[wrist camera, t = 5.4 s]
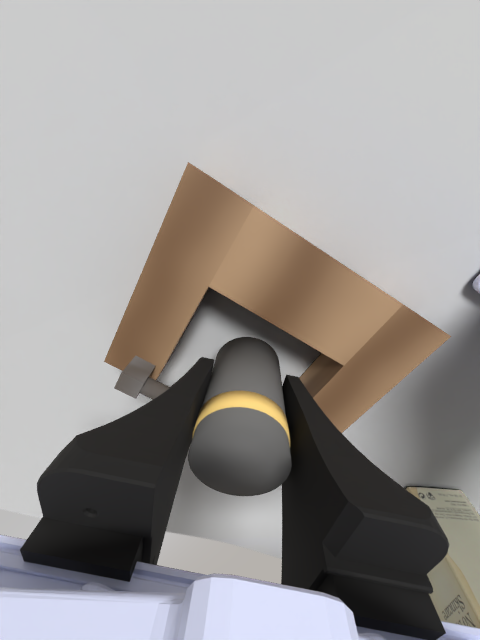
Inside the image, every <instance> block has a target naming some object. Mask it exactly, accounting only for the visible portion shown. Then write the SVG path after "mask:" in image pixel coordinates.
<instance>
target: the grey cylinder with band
mask: <svg viewBox="0 0 480 640" xmlns="http://www.w3.org/2000/svg"><path fill="white" fill-rule="evenodd" d="M188 461H189V465H190V468H191V470H192V471H193V473H194V474H195V476H196V477H197V478H198V479H199V480H200V481H201V482H203V483H204V484H205V485H207V486H209V487H210V488H212V489H214V490H216V491H219V492H222V493H225V494H230V495H236V496H254V495H260V494H264V493H267V492H270V491H272V490H274V489H276V488H277V487H279V486H280V485H281V484H283V483H284V481H285V480H286V479H287V478H288V476H289V474H290V471H291V467H292V462H291V454H290V435H289V428H288V421H287V418H286V414H285V406H284V398H283V390H282V382H281V374H280V366H279V360H278V356H277V354H276V352H275V351H274V349H273V348H272V347H271V346H270V345H268V344H267V343H266V342H264V341H262V340H260V339H256V338H252V337H241V338H236V339H233V340H231V341H229V342H227V343H226V344H225V345H224V346H223V347H222V348H221V349H220V350H219V352H218V354H217V357H216V361H215V364H214V368H213V371H212V374H211V378H210V381H209V385H208V388H207V391H206V395H205V398H204V402H203V405H202V408H201V410H200V412H199V414H198V418H197V421H196V424H195V428H194V431H193V436H192V442H191V446H190V449H189V454H188Z"/></svg>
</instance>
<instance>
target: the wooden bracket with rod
mask: <svg viewBox="0 0 480 640" xmlns="http://www.w3.org/2000/svg"><path fill="white" fill-rule="evenodd" d="M209 287H210V288H212V289H214V290H215V291H217V292H219V293H220V294H222V295H224V296H226V297H227V298H229V299H231V300H232V301H234V302H236V303H237V304H239V305H241V306H243V307H244V308H246V309H248V310H249V311H251V312H253V313H255V314H256V315H258V316H260V317H261V318H263V319H265V320H267V321H268V322H270V323H272V324H273V325H275V326H277V327H278V328H280V329H282V330H284V331H285V332H287V333H289V334H290V335H292V336H294V337H296V338H297V339H299V340H301V341H302V342H304V343H306V344H308V345H309V346H311V347H313V348H314V349H316V350H318V351H319V352H321V354H320V355H319V357H318V358H317V359H316V360H315V361H314V362H313V363H312V364H311V366H310V367H309V368H308V369H307V370H306V371H305V372H304V373H303V375H302V376H301V377H300V378H299V379H300V380H301V382H302V383H303V384H304V386H305V387H306V389H307V390H308V392H309V393H310V395H311V396H312V397H313V399H314V400H315V402H316V403H317V404H318V406H319V407H320V408H321V410H322V411H323V412H324V414H325V415H326V416H327V417H328V418H329V420H330V421H331V422H332V423H333V424H334V426H335V427H336V428H337V429H338V430H339V431H340V432H341V433H342V432H343V431H345V430H346V429H347V428H348V427H349V426H350V425H351V424H352V423H354V422H355V421H356V420H357V419H358V418H359V417H360V416H362V415H363V414H364V413H365V412H366V411H367V410H368V409H369V408H371V407H372V406H373V405H374V404H375V403H376V402H377V401H379V400H380V399H381V398H382V397H383V396H384V395H385V394H386V393H388V392H389V391H390V390H391V389H392V388H393V387H394V386H396V385H397V384H398V383H399V382H400V381H401V380H402V379H403V378H405V377H406V376H407V375H408V374H409V373H410V372H411V371H413V370H414V369H415V368H416V367H417V366H418V365H419V364H420V363H422V362H423V361H424V360H425V359H426V358H427V357H428V356H430V355H431V354H432V353H433V352H434V351H435V350H436V349H437V348H439V347H440V346H441V345H442V344H443V343H444V342H445V341H446V340H448V339H449V338H450V337H451V336H450V335H448V334H447V333H445V332H444V331H442V330H441V329H439V328H438V327H436V326H435V325H433V324H432V323H430V322H429V321H427V320H426V319H424V318H423V317H421V316H420V315H418V314H417V313H415V312H414V311H412V310H411V309H409V308H408V307H406V306H405V305H403V304H402V303H400V302H399V301H397V300H396V299H394V298H393V297H391V296H390V295H388V294H387V293H385V292H384V291H382V290H381V289H379V288H378V287H376V286H375V285H373V284H372V283H370V282H369V281H367V280H365V279H364V278H362V277H361V276H359V275H358V274H356V273H355V272H353V271H352V270H350V269H349V268H347V267H346V266H344V265H343V264H341V263H340V262H338V261H337V260H335V259H334V258H332V257H331V256H329V255H328V254H326V253H325V252H323V251H322V250H320V249H319V248H317V247H316V246H314V245H313V244H311V243H310V242H308V241H307V240H305V239H304V238H302V237H301V236H299V235H298V234H296V233H295V232H293V231H292V230H290V229H289V228H287V227H286V226H284V225H283V224H281V223H280V222H278V221H276V220H275V219H273V218H272V217H270V216H269V215H267V214H266V213H264V212H263V211H261V210H260V209H258V208H257V207H255V206H254V205H252V204H251V203H249V202H248V201H246V200H245V199H243V198H242V197H240V196H239V195H237V194H236V193H234V192H233V191H231V190H230V189H228V188H227V187H225V186H224V185H222V184H221V183H219V182H218V181H216V180H215V179H213V178H212V177H210V176H209V175H207V174H206V173H204V172H203V171H201V170H199V169H198V168H196V167H195V166H193V165H192V164H190V163H189V162H188V164H187V166H186V169H185V171H184V173H183V176H182V178H181V181H180V183H179V185H178V188H177V190H176V192H175V195H174V197H173V200H172V202H171V204H170V207H169V209H168V211H167V214H166V216H165V218H164V221H163V223H162V226H161V228H160V230H159V233H158V235H157V237H156V240H155V242H154V245H153V247H152V249H151V252H150V254H149V256H148V259H147V261H146V264H145V266H144V268H143V271H142V273H141V275H140V278H139V280H138V282H137V285H136V287H135V290H134V292H133V294H132V297H131V299H130V301H129V304H128V306H127V309H126V311H125V313H124V316H123V318H122V320H121V323H120V325H119V327H118V330H117V332H116V335H115V337H114V339H113V342H112V344H111V346H110V349H109V351H108V354H107V356H106V358H105V361H104V362H106V363H108V364H110V365H112V366H114V367H116V368H118V369H120V370H122V373H121V375H120V377H119V379H118V381H117V383H116V385H115V387H114V388H115V389H117V390H119V391H121V392H123V393H125V394H127V395H129V396H132V397H134V398H136V397H137V396H138V394H139V393H141V394H143V395H145V396H147V397H149V398H151V399H155V398H156V397H158V396H159V395H161V394H162V393H163V392H165V391H166V390H167V389H169V388H170V387H168V386H166V385H164V384H162V383H160V382H158V381H156V380H157V378H158V376H159V375H160V373H161V372H162V370H163V368H164V367H165V365H166V363H167V362H168V360H169V358H170V356H171V355H172V353H173V351H174V349H175V348H176V346H177V344H178V342H179V340H180V339H181V337H182V335H183V333H184V332H185V330H186V328H187V326H188V324H189V323H190V321H191V319H192V317H193V316H194V314H195V312H196V310H197V308H198V307H199V305H200V303H201V301H202V300H203V298H204V296H205V294H206V292H207V291H208V289H209Z"/></svg>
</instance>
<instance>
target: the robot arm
mask: <svg viewBox="0 0 480 640" xmlns="http://www.w3.org/2000/svg"><path fill="white" fill-rule="evenodd" d="M473 288H474V289H475V290H476V291H477V292H479V293H480V274H479V275H478V276H477V277H476V278H475V280H474V282H473ZM213 363H214V360H213V359H208V358H204V357H202V358H200V359H199V360H198V361H197V362H196V364H195V365H194V366H193V367H192V368H191V369H190V370H189V371H188V372H187V373H186V374H185V375H184V376H183V377H182V378H180V379H179V380H178V381H177V382H176V383H175V384H173V385H172V386H171V387H170V388H169V389H167V390H166V391H165V392H163V393H162V394H161V395H159V396H158V397H156V398H155V399H153V400H152V401H150V402H149V403H147V404H145V405H144V406H142V407H140V408H139V409H137V410H135V411H133V412H131V413H129V414H127V415H125V416H123V417H121V418H119V419H117V420H115V421H113V422H111V423H108V424H106V425H104V426H101V427H98V428H96V429H93V430H90V431H88V432H85V433H82V434H79V435H77V436H76V437H75V438H74V439H73V440H72V441H71V442H70V443H69V444H68V445H67V446H66V447H65V448H64V449H63V450H62V451H61V452H60V453H59V454H58V456H57V457H56V458H55V459H54V461H53V462H52V463H51V464H50V465H49V467H48V468H47V469H46V470H45V472H44V473H43V474H42V475H41V476H40V478H39V480H38V482H37V492H38V497H39V501H40V505H41V509H42V513H43V518H42V519H41V520H40V522H39V523H38V525H37V526H36V528H35V529H34V530H33V532H32V533H31V535H30V536H29V538H28V539H27V540H25V539H21V538H15V537H10V536H5V535H0V640H480V628H475V627H470V626H465V625H459V624H454V623H449V622H444V621H441V620H440V618H439V616H438V613H437V611H436V609H435V607H434V604H433V602H432V600H431V597H430V595H429V594H431V593H433V587H432V585H431V582H430V580H429V578H428V576H427V574H428V573H429V572H430V571H431V570H432V569H433V568H434V567H435V566H436V565H437V564H439V563H440V562H441V561H442V560H443V559H444V557H445V556H446V555H447V552H448V549H449V542H448V538H447V537H446V535H445V533H444V531H443V530H442V528H441V526H440V524H439V523H438V521H437V519H436V517H435V516H434V514H433V512H432V510H431V509H430V507H429V506H428V505H427V504H425V503H424V502H422V501H421V500H420V499H418V498H417V497H415V496H414V495H413V494H411V493H410V492H408V491H407V490H406V489H404V488H403V487H401V486H400V485H399V484H397V483H396V482H395V481H394V480H392V479H391V478H390V477H389V476H387V475H386V474H385V473H384V472H382V471H381V470H380V469H379V468H378V467H376V466H375V465H374V464H373V463H372V462H370V461H369V460H368V459H367V458H366V457H365V456H364V455H363V454H362V453H361V452H360V451H358V450H357V449H356V448H355V447H354V446H353V445H352V444H351V443H350V442H349V441H348V440H347V439H346V438H345V437H344V435H343V434H342V433H341V432H340V431H339V430H338V429H337V428H336V427H335V426H334V424H333V423H332V422H331V421H330V420H329V418H328V417H327V416H326V415H325V414H324V412H323V411H322V410H321V408H320V407H319V406H318V404H317V403H316V402H315V400H314V399H313V397H312V396H311V395H310V393H309V392H308V390H307V389H306V387H305V386H304V384H303V383H302V382H301V380H300V379H299V377H295V376H290V375H286V377H285V380H284V383H283V386H282V390H283V398H284V406H285V414H286V418H287V421H288V428H289V435H290V454H291V462H292V467H291V471H290V474H289V476H288V478H287V479H286V480H285V481H284V483H283V484H282V583H281V584H277V583H272V582H267V581H261V580H257V579H251V578H247V577H241V576H236V575H228V574H210V575H204V574H199V573H194V572H189V571H184V570H179V569H174V568H169V567H163V566H158V565H157V561H158V558H159V553H160V550H161V546H162V542H163V539H164V534H165V531H166V527H167V524H168V520H169V516H170V513H171V509H172V505H173V502H174V498H175V494H176V491H177V487H178V483H179V480H180V476H181V473H182V469H183V465H184V462H185V459H186V456H187V453H188V450H189V447H190V445H191V442H192V436H193V431H194V428H195V424H196V421H197V418H198V414H199V412H200V410H201V408H202V405H203V402H204V398H205V395H206V391H207V388H208V385H209V381H210V378H211V374H212V369H213Z"/></svg>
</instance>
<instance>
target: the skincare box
mask: <svg viewBox="0 0 480 640" xmlns="http://www.w3.org/2000/svg"><path fill="white" fill-rule="evenodd" d="M406 490H407V491H408V492H410V493H411V494H413V495H414V496H415V497H417V498H418V499H420V500H421V501H422V502H424V503H425V504H427V505H428V506H429V507H430V509H431V510H432V512H433V514H434V516H435V517H436V519H437V521H438V523H439V524H440V526H441V528H442V530H443V531H444V533H445V535H446V537H447V538H448V542H449V549H448V552H447V555H446V556H445V557H444V559H443V560H442V561H441V562H440V563H439V564H437V565H436V566H435V567H434V568H433V569H432V570H431V571H430V572H429V573H428V574H427V576H428V578H429V580H430V582H431V585H432V587H433V593H431V594H429V595H430V597H431V600H432V602H433V604H434V607H435V609H436V611H437V613H438V616H439V618H440V620H441V621H444V622H449V623H454V624H459V625H465V626H470V627H475V628H480V515H479V514H478V513H477V511H476V510H475V508H474V507H473V506H472V504H471V503H470V501H469V500H468V499H467V497H466V496H465V494H464V493H463V492H462V491H461V490H450V489H436V488H422V487H407V488H406Z"/></svg>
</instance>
